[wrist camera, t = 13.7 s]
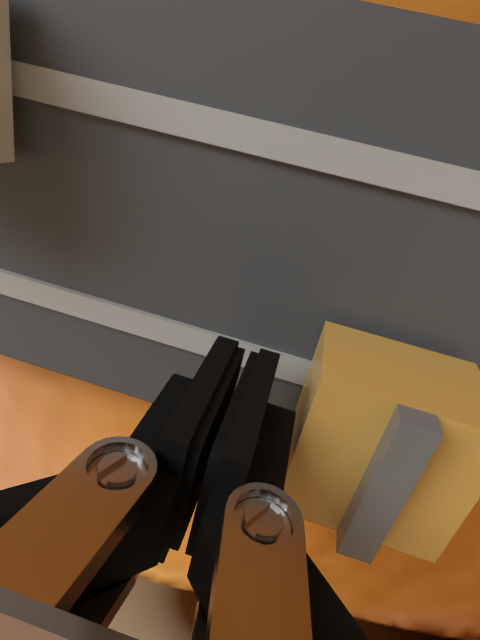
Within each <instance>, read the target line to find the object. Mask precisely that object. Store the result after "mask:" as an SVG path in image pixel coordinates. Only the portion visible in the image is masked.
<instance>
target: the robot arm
mask: <svg viewBox="0 0 480 640" xmlns="http://www.w3.org/2000/svg"><path fill="white" fill-rule="evenodd" d="M238 345H239V341H236V340H233V339H229V338H226V337H223V336H220V335H219V336H218V337H217V339H216V341H215V342H214V344H213V346H212V347H211V349H210V351H209V352H208V354H207V356H206V357H205V359H204V361H203V362H202V364H201V366H200V368H199V369H198V371H197V373H196V374H195V376H194V378H193V379H191V378H188V377H185V376H182V375H179V374H176V373H175V374H173V375H172V376H171V378H170V379H169V380H168V382H167V383H166V385H165V386H164V388H163V389H162V391H161V392H160V394H159V395H158V396H157V398H156V399H155V401H154V402H153V404H152V405H151V407H150V408H149V410H148V411H147V413H146V414H145V415H144V417H143V418H142V420H141V421H140V423H139V424H138V426H137V427H136V429H135V430H134V432H133V433H132V434H131V436H130V437H120V436H117V437H110V438H105V439H102V440H100V441H97V442H95V443H93V444H92V445H90V446H89V447H88V448H86V449H85V450H84V451H83V452H82V453H81V454H80V455H79V456H78V457H77V458H75V459H74V460H73V461H72V462H71V463H70V464H69V465H68V466H67V467H66V468H65V469H64V470H63V471H62V472H60V473H59V474H58V475H55V476H51V477H47V478H44V479H40V480H36V481H33V482H29V483H25V484H22V485H18V486H15V487H11V488H7V489H4V490H0V640H138V639H135V638H133V637H130V636H127V635H125V634H122V633H119V632H117V631H115V630H112V629H109V628H108V626H109V625H110V623H111V622H112V620H113V618H114V617H115V615H116V614H117V612H118V610H119V609H120V607H121V606H122V604H123V602H124V601H125V599H126V598H127V596H128V595H129V593H130V591H131V590H132V588H133V587H134V585H135V583H136V580H137V578H138V576H139V573H141V572H143V571H145V570H147V569H150V568H152V567H154V566H156V565H157V564H158V562H160V563H164V561H165V558H166V556H167V553H168V551H169V548H171V549H174V550H176V551H178V550H179V548H180V546H181V543H182V540H183V538H184V535H185V533H186V530H187V527H188V525H189V522H190V520H191V517H192V514H193V512H194V509H195V507H196V504H197V507H196V511H195V515H194V519H193V523H192V527H191V532H190V536H189V540H188V544H187V548H186V552H185V554H187V555H190V556H192V559H191V563H190V566H189V570H188V574H187V577H188V579H189V581H190V584H191V586H192V588H193V590H194V592H195V594H196V596H197V598H198V603H197V607H196V612H195V618H194V625H193V631H192V637H191V640H369V639H368V638H367V637H366V635H365V634H364V632H363V631H362V629H361V628H360V627H359V625H358V624H357V622H356V621H355V620H354V618H353V617H352V615H351V614H350V613H349V611H348V610H347V609H346V607H345V606H344V604H343V603H342V602H341V600H340V599H339V597H338V596H337V595H336V593H335V592H334V590H333V589H332V588H331V586H330V585H329V583H328V582H327V581H326V579H325V578H324V577H323V575H322V574H321V572H320V571H319V570H318V568H317V567H316V565H315V564H314V563H313V561H312V560H311V558H310V557H309V556H308V554H307V553H306V544H305V530H304V521H303V517H302V513H301V511H300V509H299V507H298V506H297V504H296V502H295V501H294V500H293V499H292V498H291V497H290V496H289V495H288V494H287V493H286V492H284V485H285V479H286V473H287V467H288V460H289V454H290V448H291V442H292V435H293V429H294V423H295V417H296V411H293V410H289V409H286V408H283V407H280V406H277V405H274V404H270V403H268V399H269V395H270V392H271V388H272V384H273V380H274V377H275V373H276V369H277V366H278V362H279V358H280V354H279V353H276V352H272V351H269V350H266V349H262V348H260V351H259V353H257V352H253V351H251V352H250V355H249V357H248V359H247V362H246V364H245V367H244V369H243V372H242V374H241V377H240V379H239V382H238V384H237V380H238V376H239V372H240V368H241V364H242V360H243V357H244V353H245V349H244V348H240V347H238ZM236 384H237V387H236ZM235 388H236V389H235ZM197 502H198V503H197Z"/></svg>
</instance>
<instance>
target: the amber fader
mask: <svg viewBox="0 0 480 640" xmlns="http://www.w3.org/2000/svg"><path fill="white" fill-rule="evenodd" d="M295 411H296V417H295V423H294V429H293V435H292V442H291V448H290V454H289V460H288V467H287V473H286V479H285V485H284V492H286V493H287V494H288V495H289V496H290V497H291V498H292V499H293V500H294V501H295V502H296V504H297V506H298V507H299V509H300V511H301V513H302V517H303V519H304V520H307V521H310V522H313V523H316V524H319V525H322V526H325V527H328V528H331V529H334V530H337V542H336V552H337V553H339V554H342V555H345V556H348V557H351V558H354V559H357V560H360V561H363V562H366V563H369V564H371V562H372V560H373V558H374V557H375V555H376V553H377V551H378V550H379V548H380V546H384V547H387V548H390V549H393V550H396V551H399V552H402V553H405V554H408V555H411V556H414V557H417V558H420V559H423V560H426V561H429V562H432V563H435V562H436V561H437V559H438V558H439V557H440V555H441V554H442V552H443V551H444V549H445V548H446V546H447V545H448V543H449V542H450V540H451V539H452V538H453V536H454V535H455V533H456V532H457V530H458V529H459V527H460V526H461V524H462V523H463V521H464V520H465V519H466V517H467V516H468V514H469V513H470V511H471V510H472V508H473V507H474V505H475V504H476V502H477V501H478V500H479V498H480V370H479V368H478V367H477V365H476V363H472V362H469V361H465V360H462V359H458V358H455V357H451V356H448V355H444V354H441V353H437V352H434V351H430V350H427V349H423V348H420V347H416V346H413V345H409V344H406V343H402V342H399V341H395V340H392V339H388V338H385V337H381V336H378V335H374V334H371V333H367V332H364V331H360V330H357V329H353V328H350V327H346V326H343V325H339V324H336V323H332V322H329V321H325V324H324V327H323V330H322V333H321V335H320V338H319V341H318V344H317V347H316V350H315V353H314V356H313V359H312V362H311V365H310V368H309V371H308V374H307V377H306V379H305V382H304V385H303V388H302V391H301V394H300V397H299V400H298V403H297V406H296V409H295Z"/></svg>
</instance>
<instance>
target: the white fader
mask: <svg viewBox="0 0 480 640" xmlns="http://www.w3.org/2000/svg"><path fill="white" fill-rule="evenodd" d="M8 162H15V155H14V128H13V102H12V75H11V49H10V22H9V0H0V163H8Z"/></svg>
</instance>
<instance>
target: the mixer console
mask: <svg viewBox="0 0 480 640" xmlns="http://www.w3.org/2000/svg"><path fill="white" fill-rule="evenodd" d="M9 22H10V49H11V75H12V102H13V128H14V155H15V162H8V163H0V354H2V355H5V356H8V357H11V358H14V359H17V360H21V361H24V362H27V363H30V364H33V365H36V366H39V367H42V368H46V369H49V370H52V371H55V372H58V373H61V374H64V375H67V376H70V377H74V378H77V379H80V380H83V381H86V382H89V383H92V384H95V385H99V386H102V387H105V388H108V389H111V390H114V391H117V392H120V393H124V394H127V395H130V396H133V397H136V398H139V399H142V400H145V401H148V402H152V403H153V402H154V401H155V399H156V398H157V396H158V395H159V394H160V392H161V391H162V389H163V388H164V386H165V385H166V383H167V382H168V380H169V379H170V378H171V376H172V375H173V374H175V373H176V374H179V375H182V376H185V377H188V378H191V379H193V378H194V376H195V374H196V373H197V371H198V369H199V368H200V366H201V364H202V362H203V361H204V359H205V357H206V356H207V354H208V352H209V351H210V349H211V347H212V346H213V344H214V342H215V341H216V339H217V337H218V336H219V335H220V336H223V337H226V338H229V339H233V340H236V341H239V345H238V347H240V348H244V349H245V353H244V357H243V360H242V364H241V368H240V372H239V376H238V380H237V384H238V382H239V379H240V377H241V374H242V372H243V369H244V367H245V364H246V362H247V359H248V357H249V355H250V352H251V351H253V352H257V353H259V351H260V348H262V349H266V350H269V351H272V352H276V353H279V354H280V358H279V362H278V366H277V369H276V373H275V377H274V380H273V384H272V388H271V392H270V395H269V399H268V403H270V404H274V405H277V406H280V407H283V408H286V409H289V410H293V411H295V409H296V406H297V403H298V400H299V397H300V394H301V391H302V388H303V385H304V382H305V379H306V377H307V374H308V371H309V368H310V365H311V362H312V359H313V356H314V353H315V350H316V347H317V344H318V341H319V338H320V335H321V333H322V330H323V327H324V324H325V321H329V322H332V323H336V324H339V325H343V326H346V327H350V328H353V329H357V330H360V331H364V332H367V333H371V334H374V335H378V336H381V337H385V338H388V339H392V340H395V341H399V342H402V343H406V344H409V345H413V346H416V347H420V348H423V349H427V350H430V351H434V352H437V353H441V354H444V355H448V356H451V357H455V358H458V359H462V360H465V361H469V362H472V363H476V365H477V367H478V368H479V370H480V25H478V24H473V23H468V22H463V21H458V20H453V19H448V18H443V17H439V16H434V15H429V14H424V13H419V12H414V11H409V10H404V9H399V8H394V7H389V6H384V5H379V4H374V3H369V2H364V1H359V0H9ZM237 384H236V387H237ZM235 389H236V388H235Z"/></svg>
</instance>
